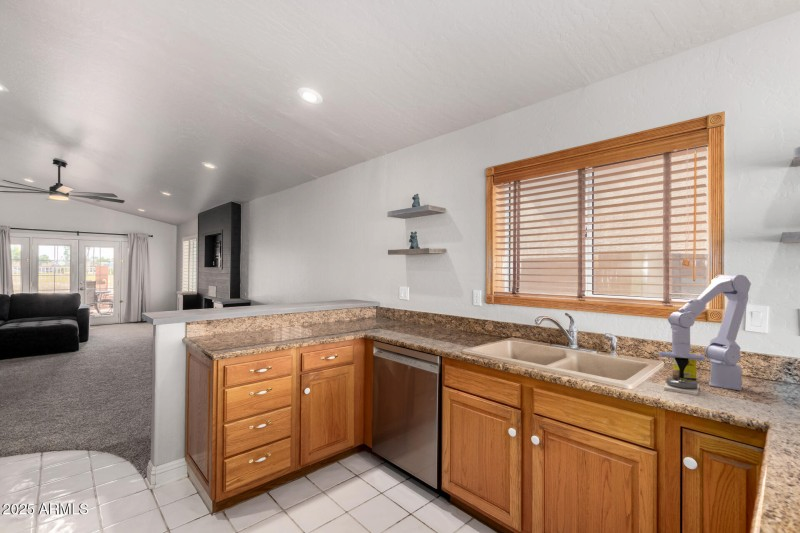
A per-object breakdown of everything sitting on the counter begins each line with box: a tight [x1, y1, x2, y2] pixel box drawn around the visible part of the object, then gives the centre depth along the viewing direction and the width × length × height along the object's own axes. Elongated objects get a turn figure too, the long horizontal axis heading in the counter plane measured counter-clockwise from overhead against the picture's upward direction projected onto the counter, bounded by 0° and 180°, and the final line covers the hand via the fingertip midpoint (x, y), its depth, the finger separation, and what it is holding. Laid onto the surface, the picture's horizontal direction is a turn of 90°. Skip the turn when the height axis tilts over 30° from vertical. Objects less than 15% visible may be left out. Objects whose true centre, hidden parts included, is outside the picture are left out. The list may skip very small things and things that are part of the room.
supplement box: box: [672, 351, 697, 381], centre depth 159 cm, size 6×6×11 cm
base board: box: [663, 382, 700, 396], centre depth 144 cm, size 10×13×1 cm
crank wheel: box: [665, 368, 699, 389], centre depth 144 cm, size 10×10×5 cm
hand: (681, 377), depth 147 cm, fingers closed, pressing on crank wheel
